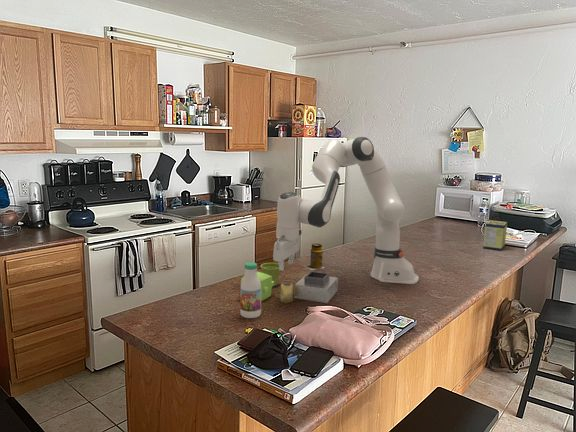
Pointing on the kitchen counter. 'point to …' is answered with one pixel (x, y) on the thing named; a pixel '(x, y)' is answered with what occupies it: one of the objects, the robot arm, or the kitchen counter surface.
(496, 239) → the protein box
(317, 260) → the condiment
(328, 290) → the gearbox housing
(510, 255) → the kitchen counter surface
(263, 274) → the green teapot
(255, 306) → the milk bottle
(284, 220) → the robot arm
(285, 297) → the tan cylinder
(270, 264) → the plant pot
